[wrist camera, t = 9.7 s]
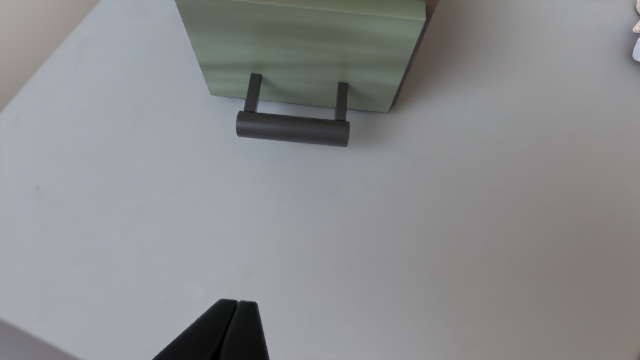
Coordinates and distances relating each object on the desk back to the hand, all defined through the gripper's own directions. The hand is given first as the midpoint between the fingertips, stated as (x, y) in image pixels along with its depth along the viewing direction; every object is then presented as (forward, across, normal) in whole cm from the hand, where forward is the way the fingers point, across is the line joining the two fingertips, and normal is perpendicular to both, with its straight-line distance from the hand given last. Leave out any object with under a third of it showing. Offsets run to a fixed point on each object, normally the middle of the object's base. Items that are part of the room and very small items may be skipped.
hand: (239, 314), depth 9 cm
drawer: (+20, 0, -4) cm, 21 cm away
